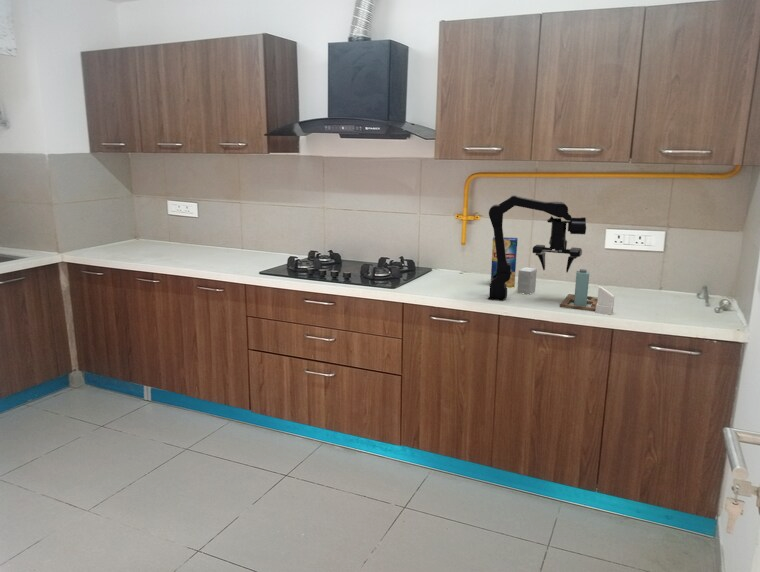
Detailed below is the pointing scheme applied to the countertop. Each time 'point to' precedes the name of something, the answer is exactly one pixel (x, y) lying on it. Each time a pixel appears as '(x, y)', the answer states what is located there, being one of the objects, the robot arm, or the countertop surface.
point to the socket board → (570, 298)
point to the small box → (526, 280)
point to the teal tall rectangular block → (581, 288)
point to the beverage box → (510, 257)
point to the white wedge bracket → (604, 302)
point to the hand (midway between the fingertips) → (555, 271)
